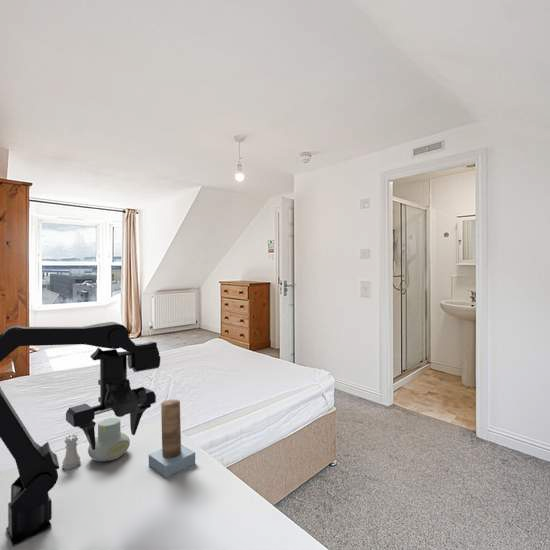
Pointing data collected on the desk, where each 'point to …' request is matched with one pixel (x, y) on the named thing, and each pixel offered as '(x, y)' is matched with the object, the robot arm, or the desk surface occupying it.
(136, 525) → the desk surface
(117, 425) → the air freshener
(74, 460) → the rook chess piece
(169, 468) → the pale blue square tile
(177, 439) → the walnut pillar
